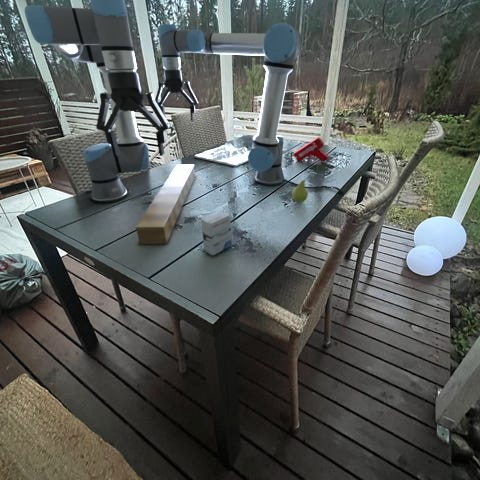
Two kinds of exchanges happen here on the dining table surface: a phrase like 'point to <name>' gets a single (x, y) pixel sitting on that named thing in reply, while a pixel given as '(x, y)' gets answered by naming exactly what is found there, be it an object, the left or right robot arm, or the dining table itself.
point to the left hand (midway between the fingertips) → (139, 154)
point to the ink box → (216, 232)
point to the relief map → (226, 155)
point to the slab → (166, 207)
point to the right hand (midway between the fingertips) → (178, 120)
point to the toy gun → (312, 151)
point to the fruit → (300, 192)
